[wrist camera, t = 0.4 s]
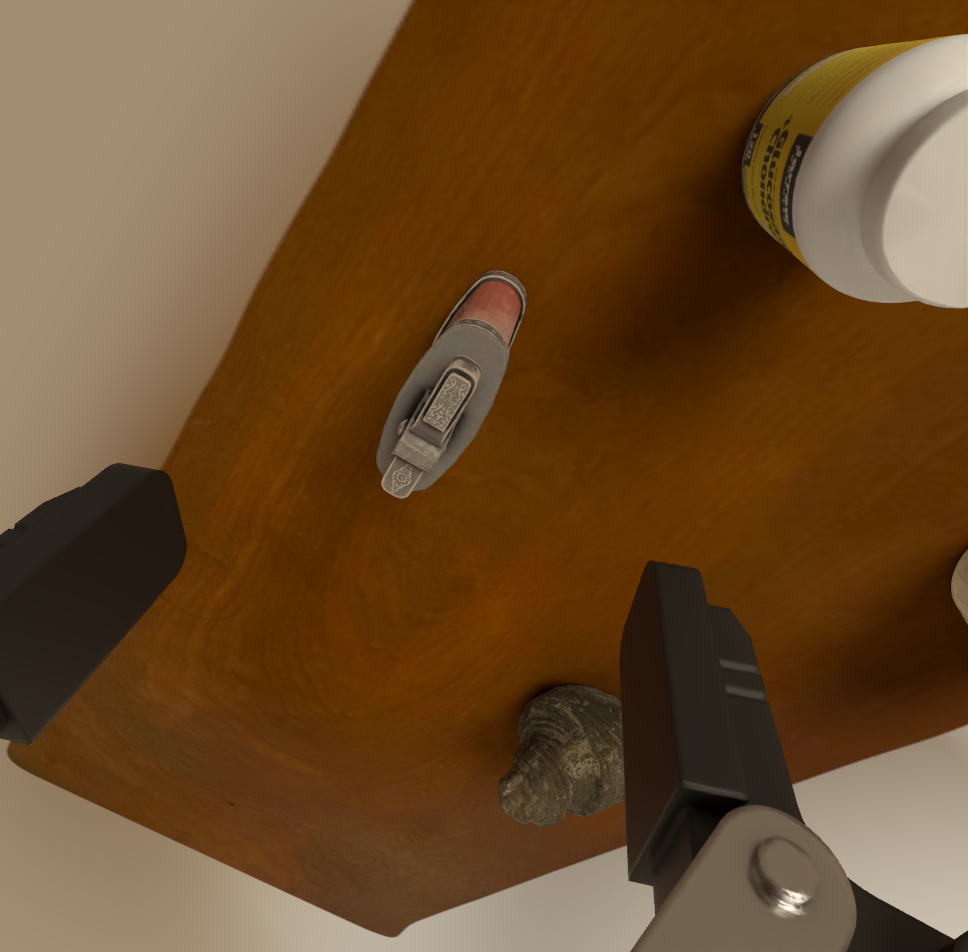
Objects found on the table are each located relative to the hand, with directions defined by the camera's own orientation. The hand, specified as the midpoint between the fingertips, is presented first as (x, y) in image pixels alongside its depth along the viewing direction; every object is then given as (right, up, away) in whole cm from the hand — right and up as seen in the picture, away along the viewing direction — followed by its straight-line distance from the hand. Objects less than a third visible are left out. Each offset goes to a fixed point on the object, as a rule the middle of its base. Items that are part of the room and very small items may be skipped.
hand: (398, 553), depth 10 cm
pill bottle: (+15, +14, +13) cm, 24 cm away
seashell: (+10, -17, +34) cm, 40 cm away
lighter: (+1, +8, +19) cm, 21 cm away
